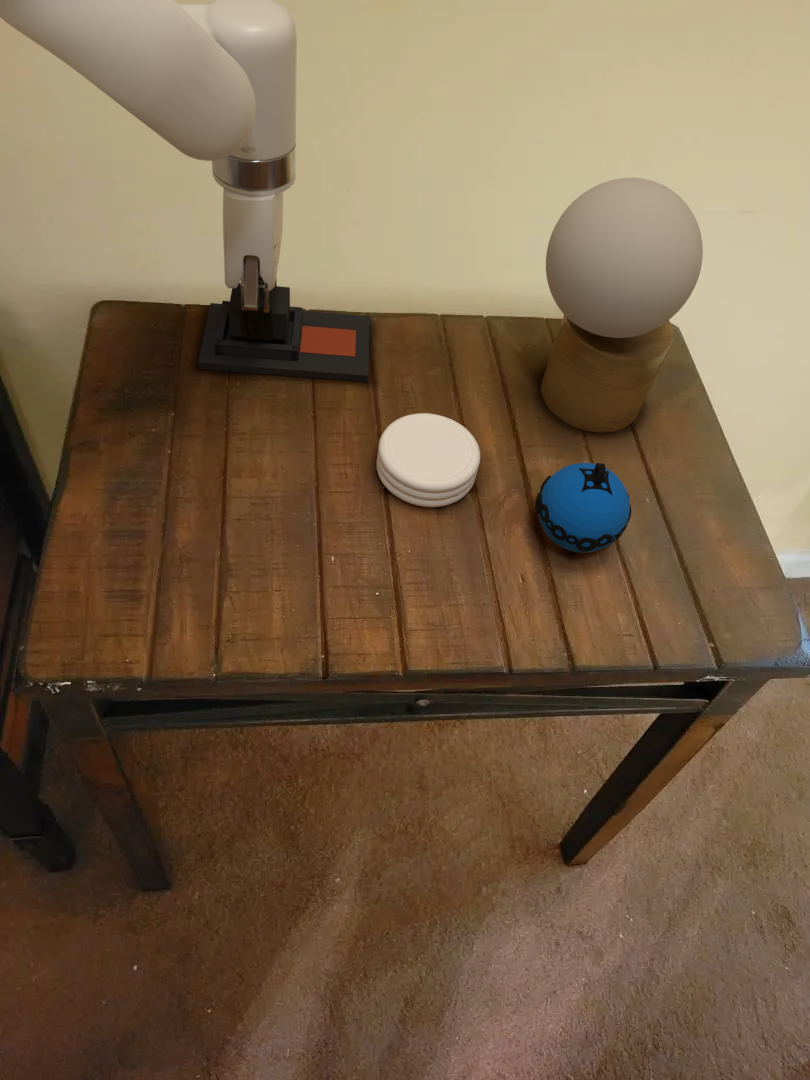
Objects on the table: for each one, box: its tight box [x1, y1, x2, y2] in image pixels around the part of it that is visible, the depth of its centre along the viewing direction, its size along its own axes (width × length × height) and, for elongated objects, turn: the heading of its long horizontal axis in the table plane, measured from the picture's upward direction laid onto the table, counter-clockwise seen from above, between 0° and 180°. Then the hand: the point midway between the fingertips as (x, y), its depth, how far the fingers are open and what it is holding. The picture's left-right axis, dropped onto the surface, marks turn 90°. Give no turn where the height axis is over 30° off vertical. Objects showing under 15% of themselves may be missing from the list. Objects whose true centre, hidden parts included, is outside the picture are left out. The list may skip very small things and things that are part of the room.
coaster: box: [375, 412, 481, 508], centre depth 81 cm, size 10×10×4 cm
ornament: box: [534, 462, 632, 554], centre depth 75 cm, size 9×9×10 cm
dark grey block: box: [228, 282, 291, 340], centre depth 87 cm, size 6×4×4 cm
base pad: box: [197, 300, 370, 383], centre depth 90 cm, size 18×10×2 cm, turn 91°
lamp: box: [540, 177, 704, 434], centre depth 81 cm, size 15×14×25 cm
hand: (259, 320), depth 88 cm, fingers closed on dark grey block, 4 cm apart
